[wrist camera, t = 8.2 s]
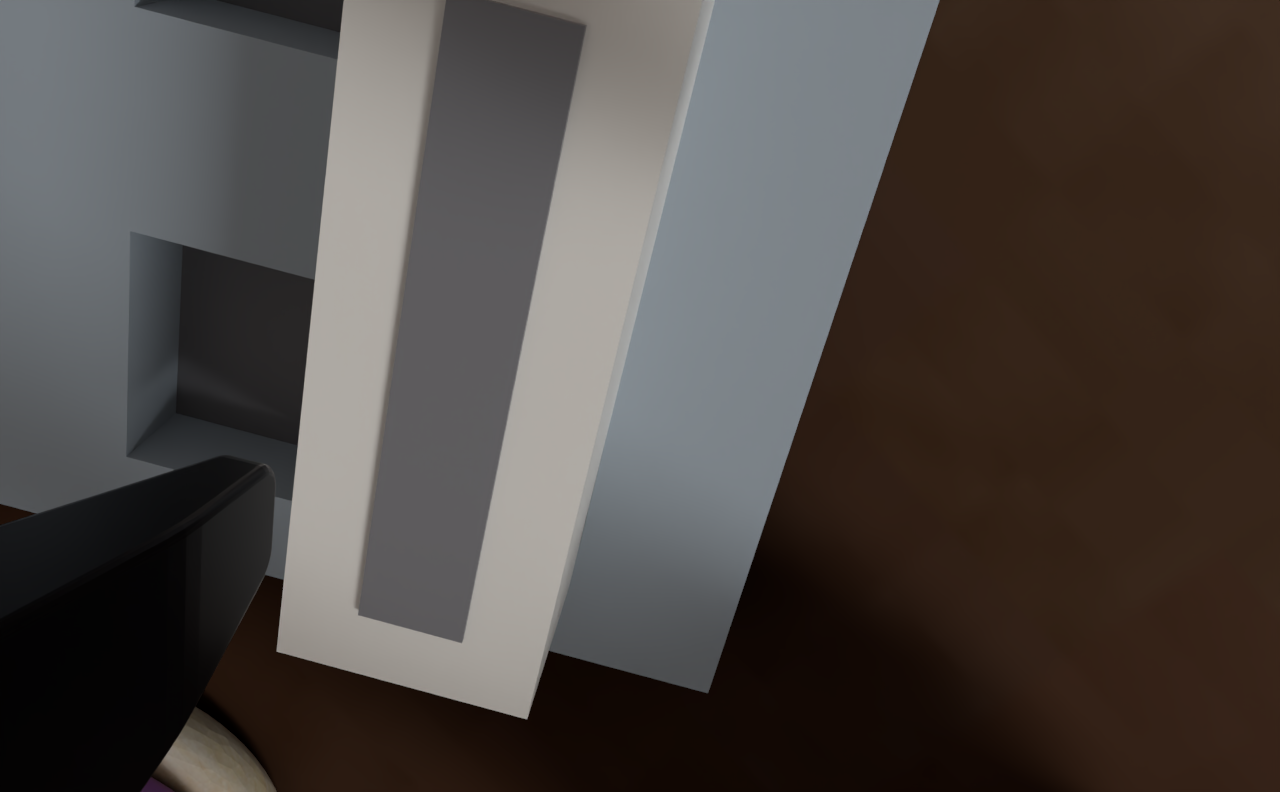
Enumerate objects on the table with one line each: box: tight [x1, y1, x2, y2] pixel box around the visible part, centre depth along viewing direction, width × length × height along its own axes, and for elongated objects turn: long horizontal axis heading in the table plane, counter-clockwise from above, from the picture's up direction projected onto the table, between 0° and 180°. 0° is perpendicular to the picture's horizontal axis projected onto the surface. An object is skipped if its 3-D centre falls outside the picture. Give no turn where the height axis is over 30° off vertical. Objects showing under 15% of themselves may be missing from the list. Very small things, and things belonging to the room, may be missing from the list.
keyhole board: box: [0, 0, 939, 693], centre depth 18 cm, size 16×14×2 cm
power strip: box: [277, 0, 715, 719], centre depth 16 cm, size 13×4×5 cm, turn 167°
